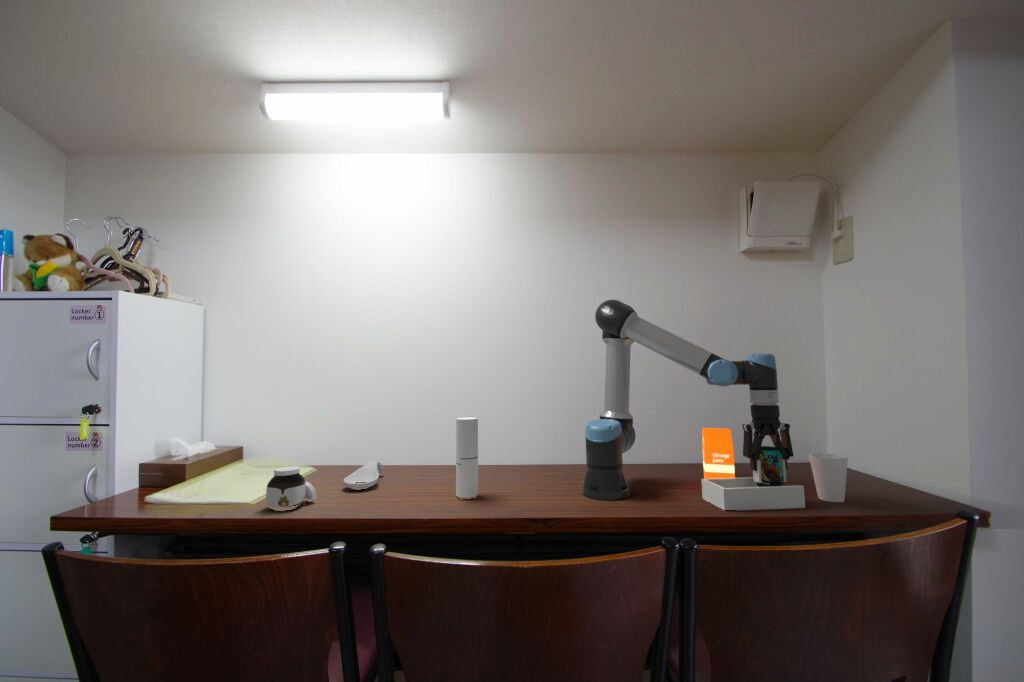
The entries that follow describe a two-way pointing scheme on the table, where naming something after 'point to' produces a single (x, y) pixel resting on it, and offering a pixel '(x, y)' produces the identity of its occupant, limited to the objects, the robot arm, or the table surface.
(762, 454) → the beverage can
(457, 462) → the cylindrical container
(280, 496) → the spread jar
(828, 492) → the foam cup
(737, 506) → the grey shallow open box
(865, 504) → the table surface
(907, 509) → the table surface
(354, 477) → the spoon rest
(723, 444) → the orange juice
